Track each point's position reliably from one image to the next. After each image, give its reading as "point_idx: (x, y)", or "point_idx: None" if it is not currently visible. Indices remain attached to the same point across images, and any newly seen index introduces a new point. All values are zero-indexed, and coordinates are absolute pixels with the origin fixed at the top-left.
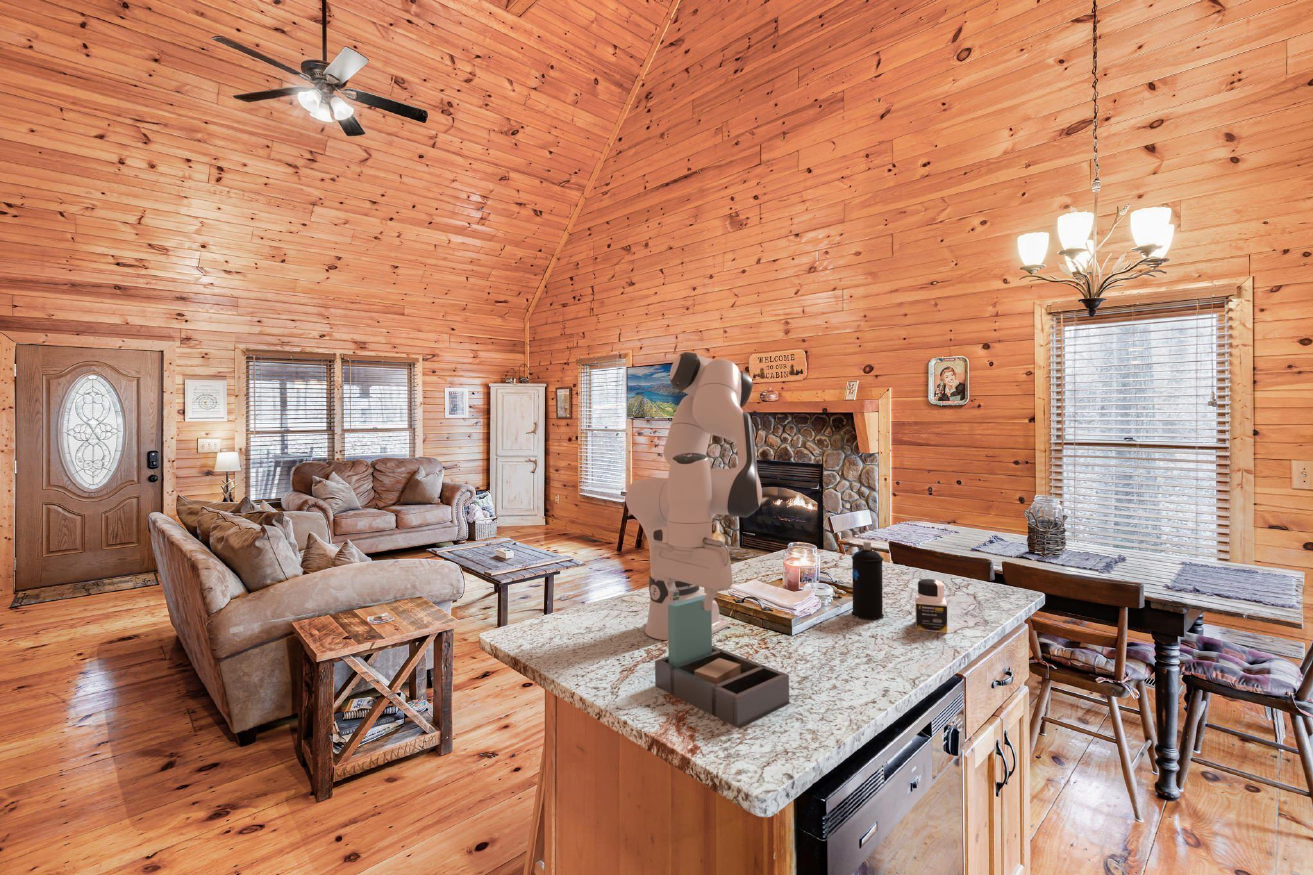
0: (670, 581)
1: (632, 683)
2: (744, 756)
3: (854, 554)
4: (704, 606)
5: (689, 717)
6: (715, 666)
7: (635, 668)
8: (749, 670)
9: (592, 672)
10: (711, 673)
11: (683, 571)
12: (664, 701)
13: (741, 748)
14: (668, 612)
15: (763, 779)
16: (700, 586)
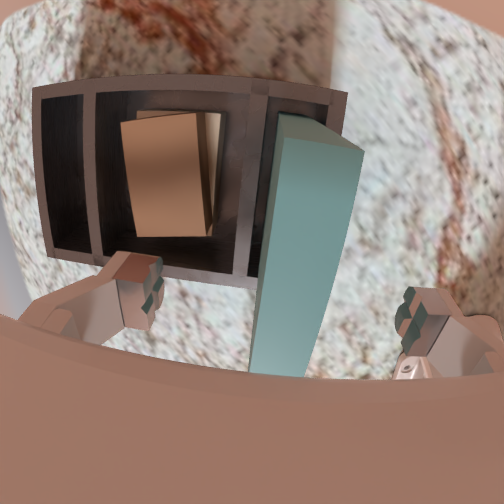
0: (476, 370)
1: (408, 106)
2: (43, 53)
3: None
4: (121, 260)
5: (186, 60)
6: (171, 180)
7: (449, 178)
8: (141, 250)
9: (500, 109)
10: (146, 134)
11: (307, 488)
12: (283, 75)
13: (56, 64)
14: (346, 142)
15: (8, 43)
16: (59, 334)
